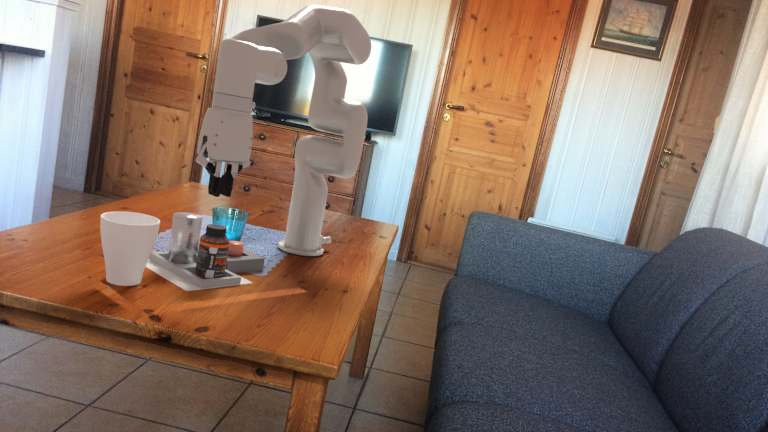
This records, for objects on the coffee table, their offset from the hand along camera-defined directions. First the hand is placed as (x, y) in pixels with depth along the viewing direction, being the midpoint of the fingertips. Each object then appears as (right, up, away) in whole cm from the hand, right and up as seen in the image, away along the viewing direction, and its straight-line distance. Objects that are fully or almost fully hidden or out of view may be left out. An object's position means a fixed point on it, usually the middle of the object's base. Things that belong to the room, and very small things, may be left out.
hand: (219, 194), depth 125 cm
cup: (-17, -18, -6) cm, 25 cm away
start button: (-1, -13, +15) cm, 20 cm away
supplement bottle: (-3, -18, +3) cm, 18 cm away
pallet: (-7, -17, +6) cm, 20 cm away
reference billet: (-11, -15, +9) cm, 21 cm away
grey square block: (-2, -17, +16) cm, 23 cm away
